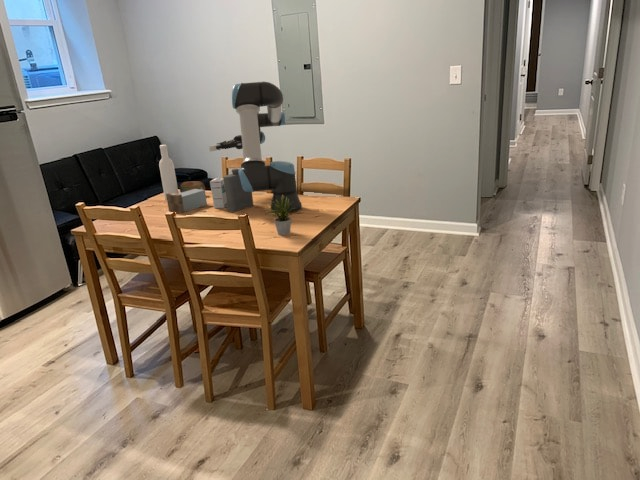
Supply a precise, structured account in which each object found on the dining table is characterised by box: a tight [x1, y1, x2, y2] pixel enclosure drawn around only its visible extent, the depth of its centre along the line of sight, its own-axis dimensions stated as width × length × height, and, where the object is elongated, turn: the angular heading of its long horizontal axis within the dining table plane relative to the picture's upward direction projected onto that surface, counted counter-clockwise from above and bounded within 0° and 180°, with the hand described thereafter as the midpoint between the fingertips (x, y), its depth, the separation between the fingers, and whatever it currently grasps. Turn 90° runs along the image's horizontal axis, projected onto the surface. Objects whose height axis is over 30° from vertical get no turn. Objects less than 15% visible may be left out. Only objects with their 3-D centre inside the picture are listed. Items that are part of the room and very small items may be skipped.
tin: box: [179, 180, 206, 193], centre depth 286 cm, size 15×3×8 cm, turn 76°
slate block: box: [178, 189, 208, 213], centre depth 262 cm, size 8×15×8 cm, turn 143°
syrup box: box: [209, 177, 227, 209], centre depth 257 cm, size 6×6×14 cm
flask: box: [222, 168, 254, 213], centre depth 251 cm, size 15×6×20 cm, turn 135°
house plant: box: [265, 195, 296, 236], centre depth 210 cm, size 14×14×16 cm
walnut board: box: [166, 193, 185, 214], centre depth 256 cm, size 10×2×9 cm, turn 53°
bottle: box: [158, 144, 180, 201], centre depth 280 cm, size 8×8×30 cm
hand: (210, 148), depth 264 cm, fingers closed
